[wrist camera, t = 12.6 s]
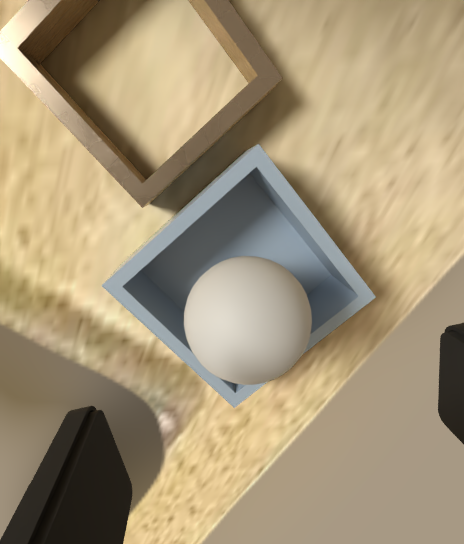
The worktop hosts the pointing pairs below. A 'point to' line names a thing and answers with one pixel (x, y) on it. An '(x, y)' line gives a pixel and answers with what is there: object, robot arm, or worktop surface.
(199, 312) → the lightbulb
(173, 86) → the worktop surface
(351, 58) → the worktop surface
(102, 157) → the socket collar
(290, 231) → the box
